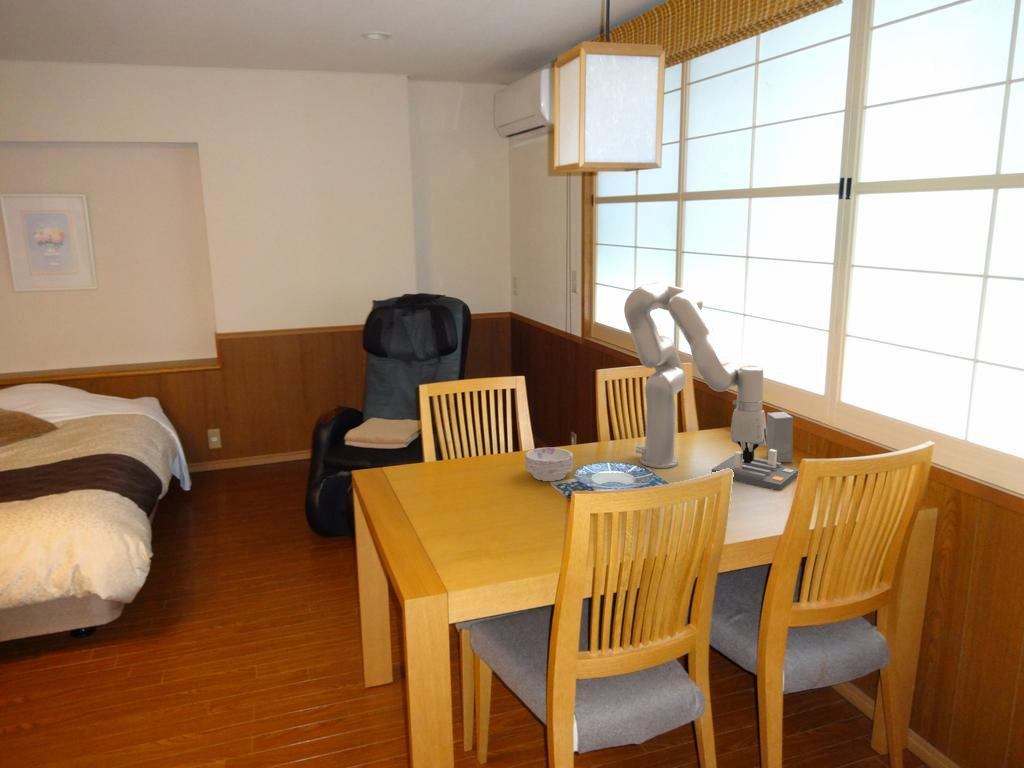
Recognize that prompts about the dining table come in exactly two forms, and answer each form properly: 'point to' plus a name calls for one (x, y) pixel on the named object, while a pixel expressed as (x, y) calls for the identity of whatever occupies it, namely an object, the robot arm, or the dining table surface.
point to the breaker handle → (772, 457)
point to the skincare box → (780, 435)
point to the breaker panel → (760, 473)
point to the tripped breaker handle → (738, 459)
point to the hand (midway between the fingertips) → (748, 462)
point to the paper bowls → (549, 463)
